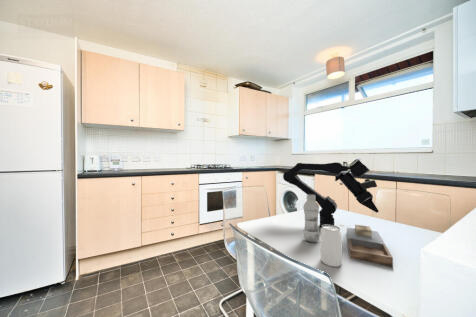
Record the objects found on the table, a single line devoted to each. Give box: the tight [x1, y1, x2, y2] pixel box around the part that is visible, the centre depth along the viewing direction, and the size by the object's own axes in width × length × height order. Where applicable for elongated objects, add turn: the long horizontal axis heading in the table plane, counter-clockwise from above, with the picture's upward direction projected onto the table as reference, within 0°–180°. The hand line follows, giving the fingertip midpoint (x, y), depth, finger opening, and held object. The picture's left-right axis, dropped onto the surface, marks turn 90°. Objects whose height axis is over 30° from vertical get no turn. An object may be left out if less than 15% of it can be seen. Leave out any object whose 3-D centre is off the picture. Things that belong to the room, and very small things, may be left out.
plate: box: [346, 227, 386, 250], centre depth 80 cm, size 12×14×3 cm
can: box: [320, 224, 343, 268], centre depth 64 cm, size 6×6×12 cm
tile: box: [354, 224, 373, 237], centre depth 82 cm, size 6×6×2 cm
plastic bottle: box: [303, 194, 320, 243], centre depth 81 cm, size 6×7×20 cm
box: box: [347, 239, 394, 267], centre depth 69 cm, size 12×11×3 cm
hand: (376, 210), depth 87 cm, fingers open, 9 cm apart
